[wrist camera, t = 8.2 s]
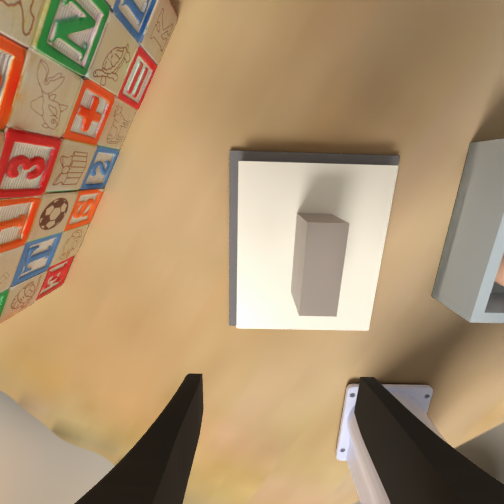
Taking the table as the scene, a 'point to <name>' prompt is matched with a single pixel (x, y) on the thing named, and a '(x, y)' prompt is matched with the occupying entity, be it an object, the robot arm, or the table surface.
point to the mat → (278, 157)
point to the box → (476, 239)
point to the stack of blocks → (65, 125)
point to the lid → (310, 243)
